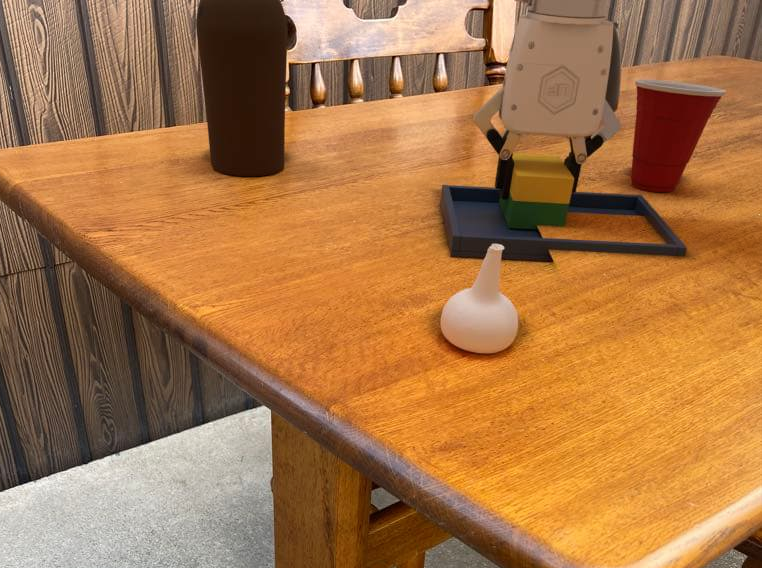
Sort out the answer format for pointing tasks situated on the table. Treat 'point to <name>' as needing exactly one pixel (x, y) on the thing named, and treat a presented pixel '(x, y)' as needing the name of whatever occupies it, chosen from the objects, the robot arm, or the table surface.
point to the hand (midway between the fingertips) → (533, 195)
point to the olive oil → (244, 83)
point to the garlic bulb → (481, 311)
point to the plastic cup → (668, 130)
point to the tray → (488, 226)
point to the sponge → (537, 192)
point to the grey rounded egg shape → (614, 73)
